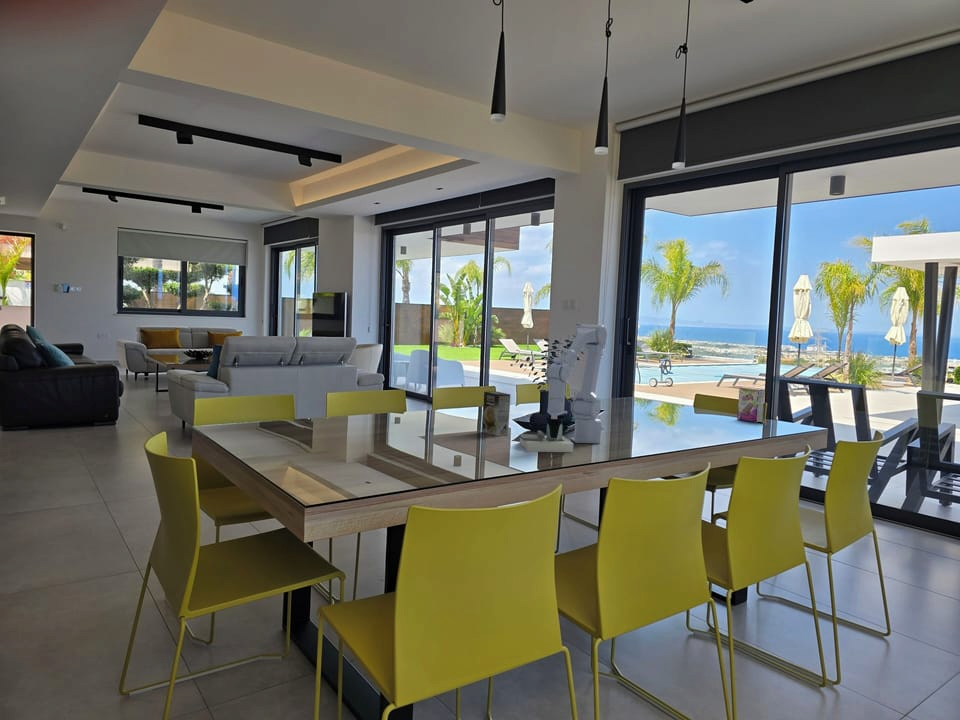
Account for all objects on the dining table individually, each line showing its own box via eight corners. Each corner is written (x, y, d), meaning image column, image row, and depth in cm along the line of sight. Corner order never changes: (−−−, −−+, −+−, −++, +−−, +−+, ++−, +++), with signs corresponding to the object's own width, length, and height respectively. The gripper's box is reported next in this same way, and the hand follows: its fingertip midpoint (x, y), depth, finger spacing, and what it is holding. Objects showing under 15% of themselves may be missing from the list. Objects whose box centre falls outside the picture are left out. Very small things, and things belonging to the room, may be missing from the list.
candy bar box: (736, 419, 313) (738, 386, 312) (743, 419, 316) (745, 386, 315) (756, 423, 303) (758, 389, 302) (762, 422, 306) (765, 389, 305)
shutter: (540, 436, 224) (540, 430, 224) (544, 440, 217) (544, 434, 217) (519, 436, 224) (519, 430, 223) (523, 440, 216) (523, 433, 216)
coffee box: (481, 432, 246) (483, 391, 245) (494, 431, 250) (496, 390, 249) (496, 436, 239) (498, 394, 238) (509, 435, 243) (511, 393, 242)
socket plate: (562, 444, 229) (563, 436, 229) (572, 452, 215) (573, 443, 215) (519, 443, 227) (520, 435, 227) (527, 451, 213) (527, 442, 213)
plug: (551, 441, 224) (552, 423, 224) (561, 442, 222) (562, 424, 222) (546, 442, 221) (547, 424, 221) (556, 444, 219) (557, 425, 218)
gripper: (566, 401, 213) (564, 441, 213) (569, 396, 227) (567, 433, 228) (545, 400, 214) (543, 439, 215) (549, 395, 228) (547, 432, 229)
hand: (554, 436), depth 221 cm, fingers closed on plug, 5 cm apart
